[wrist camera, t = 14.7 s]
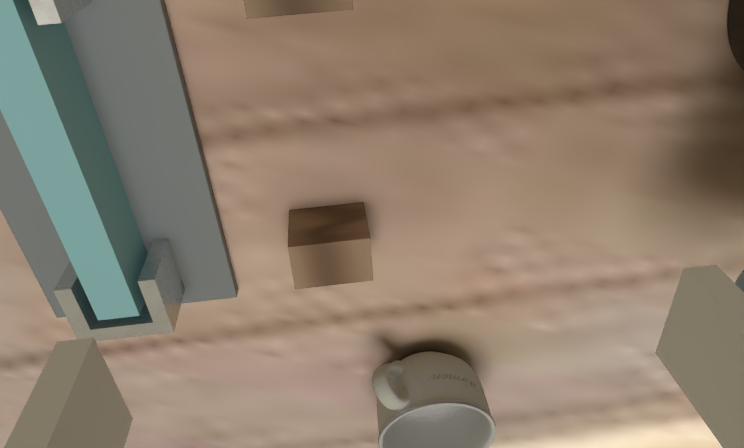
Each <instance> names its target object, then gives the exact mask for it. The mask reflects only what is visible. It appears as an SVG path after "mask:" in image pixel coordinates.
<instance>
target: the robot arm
mask: <svg viewBox="0 0 744 448" xmlns="http://www.w3.org/2000/svg"><path fill="white" fill-rule="evenodd" d="M728 32H729V40H730V45H731V48H732V51H733V54H734V56H735V58H736V60H737V62H738V63H739V65H740V66H741V67H742V68H743V70H744V0H731V3H730V8H729V17H728ZM655 353H656V354H657V356H658V357H659V358H660V360H661V361H662V363H663V364H664V365H665V367H666V368H667V370H668V371H669V372H670V374H671V375H672V377H673V378H674V379H675V381H676V382H677V384H678V385H679V387H680V388H681V389H682V391H683V392H684V394H685V395H686V396H687V398H688V399H689V401H690V402H691V403H692V405H693V406H694V408H695V409H696V410H697V412H698V413H699V415H700V416H701V417H702V419H703V420H704V422H705V423H706V424H707V426H708V427H709V429H710V430H711V431H712V433H713V434H714V436H715V437H716V438H717V440H718V441H719V443H720V444H721V446H722V447H723V448H744V270H743V271H742V273H741V274H740V275H739V277H738V278H737V280H736V282H735V283H734V282H733V281H732V280H731V279H730V278H729V277H728V276H727V275H726V274H725V273H724V272H723V271H722V270H721V269H720V268H719V267H718V266H717V265H710V266H701V267H693V268H684V269H683V272H682V275H681V278H680V281H679V284H678V287H677V290H676V293H675V296H674V299H673V302H672V305H671V308H670V311H669V314H668V317H667V320H666V323H665V326H664V329H663V332H662V335H661V338H660V341H659V344H658V346H657V349H656V352H655ZM132 419H133V418H132V416H131V414H130V412H129V410H128V408H127V406H126V404H125V402H124V399H123V397H122V395H121V393H120V391H119V389H118V387H117V385H116V383H115V381H114V379H113V377H112V375H111V373H110V370H109V368H108V366H107V364H106V362H105V360H104V358H103V356H102V354H101V352H100V350H99V348H98V346H97V343H96V341H95V339H94V338H85V339H77V340H68V341H59V342H57V343H56V345H55V347H54V349H53V351H52V353H51V355H50V357H49V359H48V361H47V363H46V365H45V367H44V369H43V371H42V373H41V375H40V377H39V379H38V381H37V383H36V385H35V387H34V389H33V391H32V393H31V395H30V397H29V399H28V401H27V403H26V405H25V407H24V409H23V411H22V413H21V415H20V417H19V419H18V421H17V423H16V425H15V427H14V429H13V431H12V433H11V435H10V437H9V439H8V441H7V443H6V445H5V447H4V448H124V446H125V442H126V439H127V435H128V432H129V429H130V425H131V422H132Z"/></svg>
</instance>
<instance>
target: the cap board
mask: <svg viewBox="0 0 744 448" xmlns="http://www.w3.org/2000/svg"><path fill="white" fill-rule="evenodd" d="M64 23H65V26H66V29H67V32H68V35H69V37H70V40H71V43H72V46H73V48H74V51H75V54H76V57H77V60H78V62H79V65H80V68H81V71H82V73H83V76H84V79H85V82H86V84H87V87H88V90H89V93H90V96H91V98H92V101H93V104H94V107H95V109H96V112H97V115H98V118H99V121H100V123H101V126H102V129H103V132H104V134H105V137H106V140H107V143H108V146H109V148H110V151H111V154H112V157H113V159H114V162H115V165H116V168H117V171H118V173H119V176H120V179H121V182H122V184H123V187H124V190H125V193H126V196H127V198H128V201H129V204H130V207H131V209H132V212H133V215H134V218H135V221H136V223H137V226H138V229H139V232H140V234H141V237H142V240H143V243H144V246H145V248H146V251H147V254H148V252H149V250H150V247H151V245H152V242H153V240H161V239H169V241H170V244H171V247H172V250H173V254H174V257H175V260H176V263H177V266H178V269H179V272H180V275H181V278H182V281H183V284H184V287H185V292H184V295H183V299H182V303H189V302H198V301H207V300H216V299H224V298H233V297H237V293H238V288H237V284H236V280H235V276H234V272H233V268H232V264H231V260H230V256H229V253H228V249H227V245H226V241H225V237H224V233H223V229H222V225H221V221H220V217H219V213H218V210H217V206H216V202H215V198H214V194H213V190H212V186H211V182H210V178H209V174H208V171H207V167H206V163H205V159H204V155H203V151H202V147H201V143H200V139H199V135H198V131H197V128H196V124H195V120H194V116H193V112H192V108H191V104H190V100H189V96H188V92H187V89H186V85H185V81H184V77H183V73H182V69H181V65H180V61H179V57H178V53H177V49H176V46H175V42H174V38H173V34H172V30H171V26H170V22H169V18H168V14H167V10H166V7H165V3H164V0H91V3H89V4H88V5H86V6H85V7H83V8H82V9H81V10H79V11H78V12H76V13H75V14H74V15H72V16H71V17H69V18H68V19H67V20H65V21H64ZM0 209H1V211H2V213H3V215H4V217H5V219H6V221H7V223H8V225H9V226H10V228H11V230H12V232H13V234H14V236H15V238H16V240H17V242H18V244H19V246H20V248H21V250H22V251H23V253H24V255H25V257H26V259H27V261H28V263H29V265H30V267H31V269H32V271H33V273H34V275H35V276H36V278H37V280H38V282H39V284H40V286H41V288H42V290H43V292H44V294H45V296H46V298H47V300H48V301H49V303H50V305H51V307H52V309H53V311H54V313H55V315H56V317H57V318H58V317H66V315H65V313H64V311H63V309H62V307H61V305H60V303H59V301H58V299H57V297H56V295H55V294H54V292H53V290H54V289H55V287H56V285H57V283H58V281H59V280H60V278H61V276H62V274H63V273H64V271H65V269H66V267H67V266H68V264H69V262H70V259H69V257H68V255H67V252H66V250H65V248H64V246H63V244H62V242H61V239H60V237H59V235H58V233H57V231H56V229H55V226H54V224H53V222H52V220H51V218H50V216H49V214H48V211H47V209H46V207H45V205H44V203H43V201H42V198H41V196H40V194H39V192H38V190H37V188H36V185H35V183H34V181H33V179H32V177H31V175H30V173H29V170H28V168H27V166H26V164H25V162H24V160H23V157H22V155H21V153H20V151H19V149H18V147H17V145H16V142H15V140H14V138H13V136H12V134H11V132H10V129H9V127H8V125H7V123H6V121H5V119H4V116H3V114H2V112H1V110H0Z"/></svg>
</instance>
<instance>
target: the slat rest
mask: <svg viewBox="0 0 744 448" xmlns="http://www.w3.org/2000/svg"><path fill="white" fill-rule="evenodd" d="M244 4H245V10H246V16H247V19H248V18H260V17H271V16H283V15H295V14H306V13H318V12H330V11H341V10H353V0H244ZM288 251H289V256H290V262H291V268H292V273H293V279H294V284H295V289H302V288H311V287H319V286H328V285H337V284H346V283H354V282H363V281H372V280H373V270H372V257H371V243H370V235H369V229H368V224H367V218H366V213H365V207H364V203H354V204H345V205H335V206H326V207H316V208H307V209H298V210H289V227H288Z"/></svg>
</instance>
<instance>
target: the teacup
mask: <svg viewBox="0 0 744 448" xmlns="http://www.w3.org/2000/svg"><path fill="white" fill-rule="evenodd" d="M372 383H373V388H374V390H375V393H376V395H377V416H378V429H379V438H378V444H379V448H488V447H489V446H490V445H491V443H492V441H493V440H494V437H495V433H496V425H495V422H494V420H493V418H492V416H491V414H490V410H489V406H488V403H487V400H486V397H485V394H484V391H483V388H482V385H481V383H480V380H479V378H478V376H477V374H476V373H475V371H474V370H473V369H472V368H471V367H470V366H469V365H468V364H467V363H466V362H464V361H463V360H461V359H459V358H457V357H455V356H452V355H449V354H444V353H440V352H432V351H427V352H420V353H416V354H413V355H410V356H408V357H406V358H404V359H402V360H401V361H399V360H397V361H394V362H392V363H387V364H384V365H382V366H380V367H378V368H377V369H376V370H375V371H374V373H373V377H372Z"/></svg>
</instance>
